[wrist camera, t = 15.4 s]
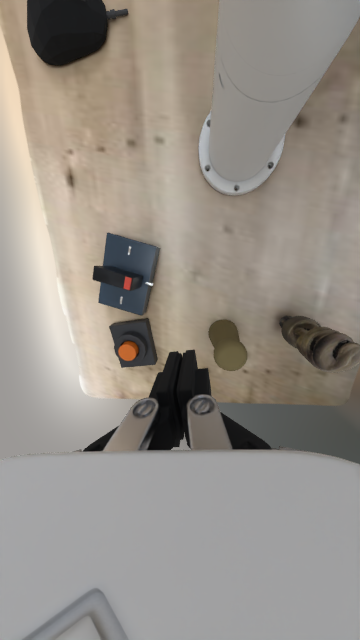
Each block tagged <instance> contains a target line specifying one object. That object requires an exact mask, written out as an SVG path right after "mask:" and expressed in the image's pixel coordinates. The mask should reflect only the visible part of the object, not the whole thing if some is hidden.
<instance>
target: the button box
mask: <svg viewBox="0 0 360 640" xmlns="http://www.w3.org/2000/svg"><path fill="white" fill-rule="evenodd" d="M109 327H110V330H111V334H112V337H113V340H114V344H115V346H114V349H115V353H116V355H117V356H118V357H119V361H120V364H121V367H122V368H123V367H134V366H145V365H155V364H156V362H157V360H158V359H157V354H156V350H155V346H154V341H153V337H152V333H151V328H150V324H149V319H141V320H134V321H126V322H119V323H114V324H112V325H111V326H109ZM126 341H132V342H134V343H136V345H137V346H138V349H139V352H138V354H137V355H136V357H135V358H134V359H133V360H131V361H126V360H123V359H122V358H121V357H120V356H119V353H118V350H119V348H120V346H121V345H122V344H123V343H124V342H126Z"/></svg>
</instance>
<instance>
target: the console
mask: <svg viewBox="0 0 360 640" xmlns="http://www.w3.org/2000/svg"><path fill="white" fill-rule="evenodd" d="M159 251H160V248H158V247H156V246H152V245H149V244H145V243H142V242H138V241H135V240H132V239H128V238H125V237H121V236H118V235H114V234H111V233H107V238H106V246H105V254H104V262H103V266H112V267H116V268H119V269H122V270H126V271H129V272H132V273H136V274H139V275H142V276H143V279H142V284H141V287H140V288H138V289H135V290H132V291H129V290H126V289H122V288H119V287H116V286H112V285H109V284H106V283H102V282H101V286H100V294H99V302H98V303H101V304H104V305H108V306H111V307H114V308H118V309H121V310H125V311H128V312H131V313H135V314H138V315H141V316H142V315H143V314H144V313H145V312H146V310H147V306H148V301H149V297H150V292H151V288H152V286H153V284H152V283H153V278H154V274H155V269H156V265H157V260H158V256H159Z"/></svg>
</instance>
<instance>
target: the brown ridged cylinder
mask: <svg viewBox="0 0 360 640" xmlns="http://www.w3.org/2000/svg"><path fill="white" fill-rule="evenodd" d="M279 324H280V326H281V328H282V335H283V337H284V339H285V340H286V341H287V342H288V343H289V344H290V345H292V346H293V347H295V348H297V349H298V350H299V352H300V353H301V354H302V355H303V356H304V357H305V358H306V359H307V360H308V361H309V362H311V364H312V365H313V366H315V367H316V368H318V369H320V370H322V371H325V372H332V373H336V372H343V371H346V370H349V369H351V368H353V367H355V366H356V365H358V364H359V363H360V345H359V344H357V343H354V342H353V340H352V339H351V338H350V337H349V336H347V335H345V334H342V333H340V332H338V331H335V330H332V329H330V328H328V327H321V325H320V324H319V323H318V322H316V321H315V320H312V319H310V318H307V317H304V316H295V317H291V316H285V317H283V318H282V319H281V320H280V323H279Z"/></svg>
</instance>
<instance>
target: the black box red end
mask: <svg viewBox="0 0 360 640" xmlns="http://www.w3.org/2000/svg"><path fill="white" fill-rule="evenodd" d="M142 279H143V276H142V275H139V274H136V273H132V272H129V271H126V270H122V269H119V268H116V267H112V266H94V272H93V280H96V281H99V282H102V283H106V284H109V285H112V286H116V287H119V288H122V289H126V290H129V291H132V290H135V289H138V288H140V287H141V284H142Z"/></svg>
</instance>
